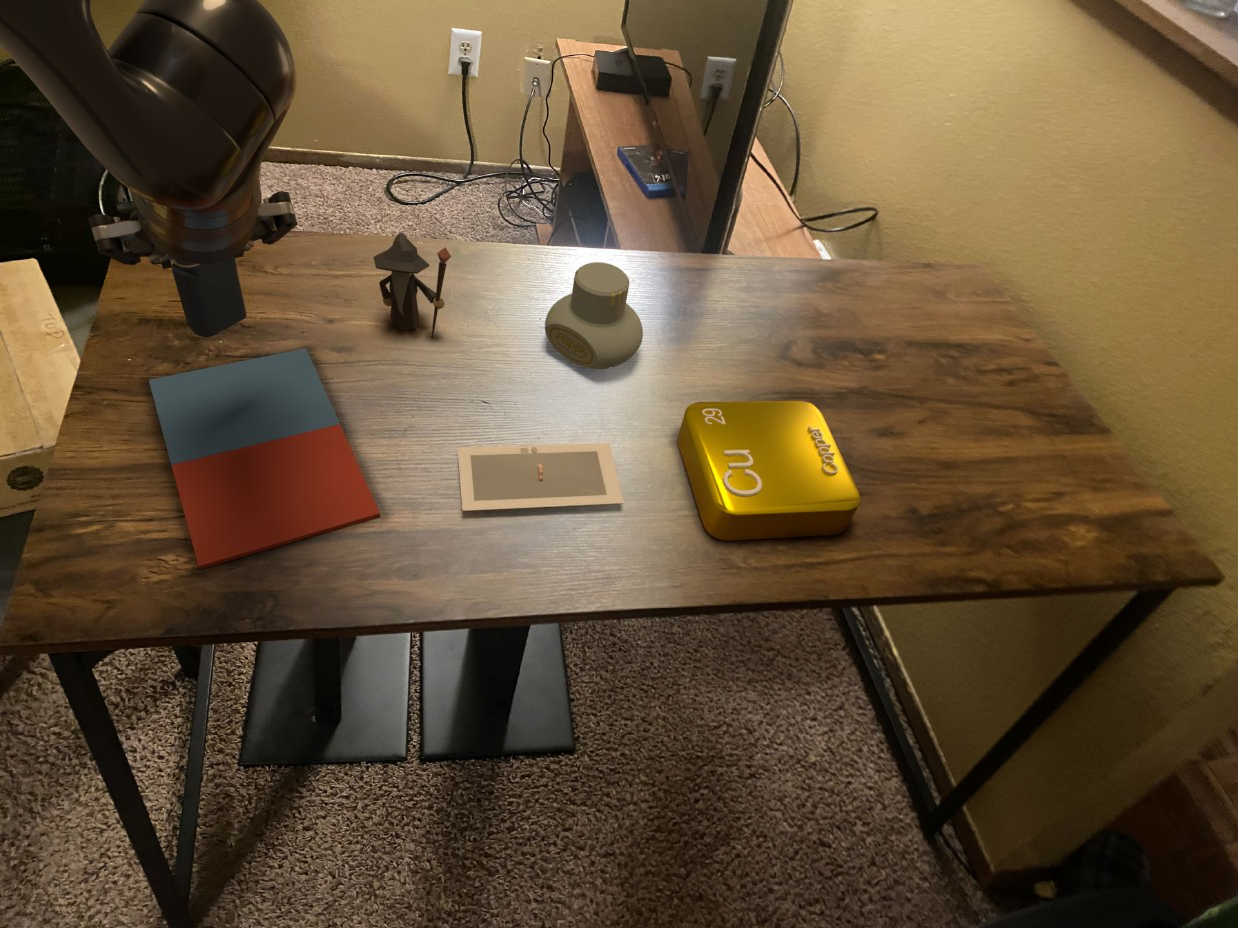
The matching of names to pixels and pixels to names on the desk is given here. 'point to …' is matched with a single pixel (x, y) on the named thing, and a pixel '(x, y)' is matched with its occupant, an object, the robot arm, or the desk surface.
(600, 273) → the air freshener
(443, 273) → the wizard figurine
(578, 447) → the touchpad
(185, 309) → the vaping device
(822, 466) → the element tile
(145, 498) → the desk surface
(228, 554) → the sorting mat
